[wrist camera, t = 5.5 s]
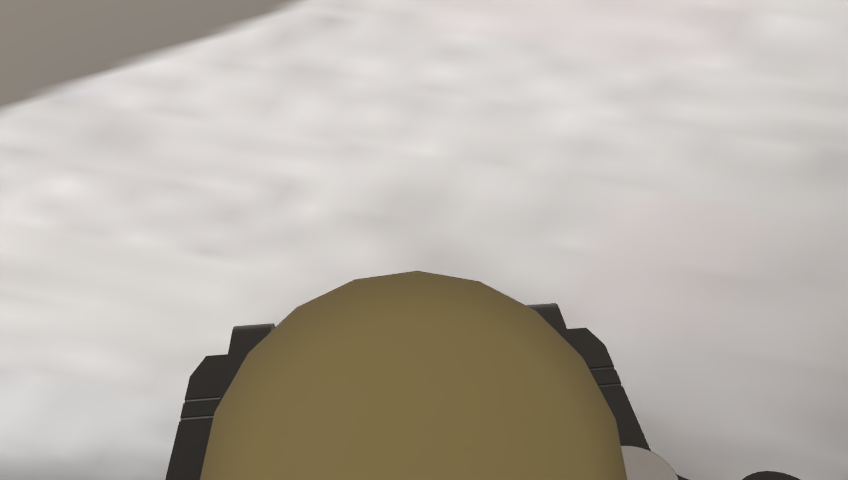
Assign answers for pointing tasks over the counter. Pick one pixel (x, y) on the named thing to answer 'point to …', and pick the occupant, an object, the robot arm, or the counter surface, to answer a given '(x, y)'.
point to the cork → (413, 392)
